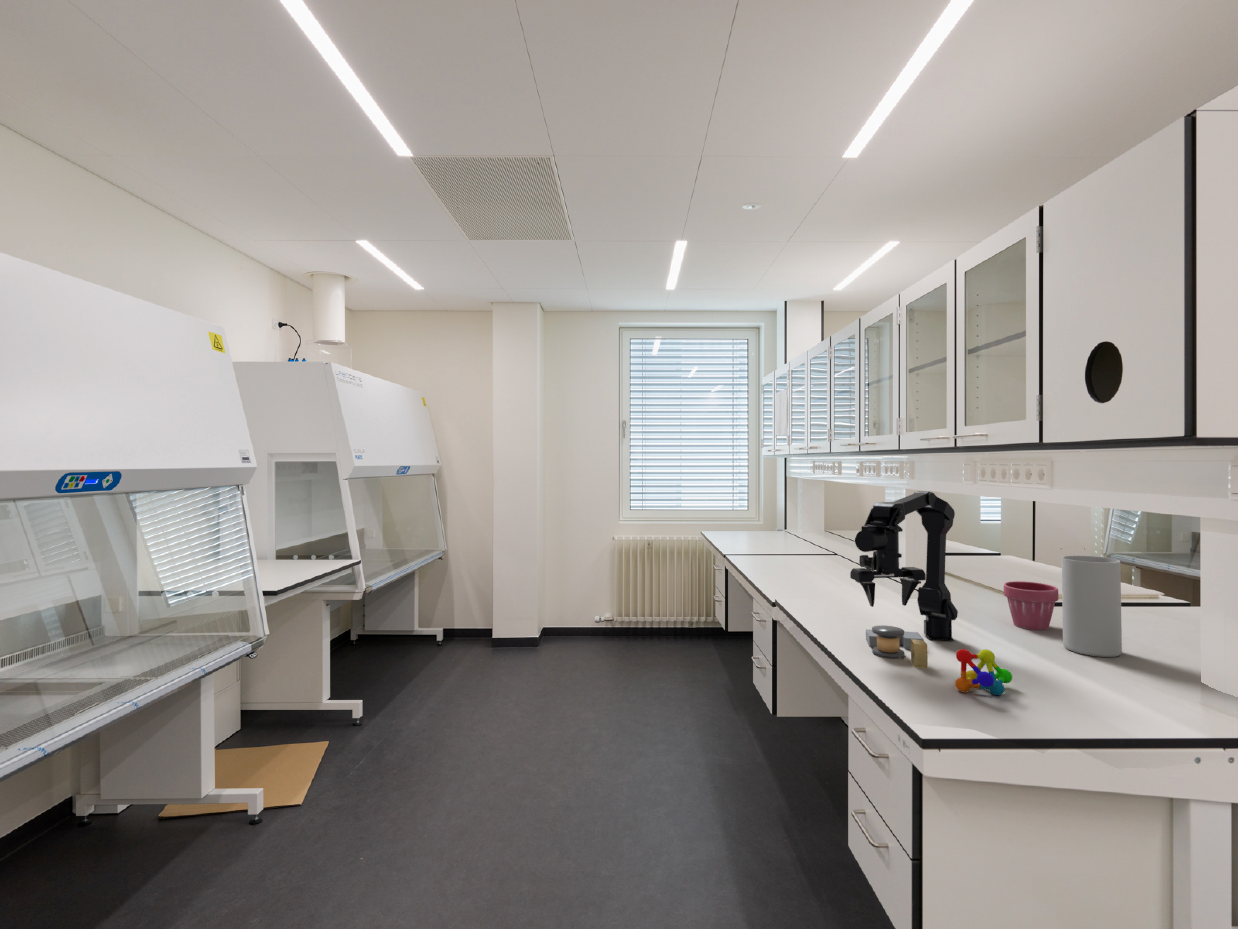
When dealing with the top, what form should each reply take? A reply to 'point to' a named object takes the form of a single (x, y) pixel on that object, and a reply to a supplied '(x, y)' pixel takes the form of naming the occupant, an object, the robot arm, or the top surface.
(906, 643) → the notch board
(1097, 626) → the cylinder vase
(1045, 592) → the plant pot
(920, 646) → the tan wooden block
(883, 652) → the bobbin
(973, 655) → the molecular model
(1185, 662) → the top surface
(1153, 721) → the top surface
